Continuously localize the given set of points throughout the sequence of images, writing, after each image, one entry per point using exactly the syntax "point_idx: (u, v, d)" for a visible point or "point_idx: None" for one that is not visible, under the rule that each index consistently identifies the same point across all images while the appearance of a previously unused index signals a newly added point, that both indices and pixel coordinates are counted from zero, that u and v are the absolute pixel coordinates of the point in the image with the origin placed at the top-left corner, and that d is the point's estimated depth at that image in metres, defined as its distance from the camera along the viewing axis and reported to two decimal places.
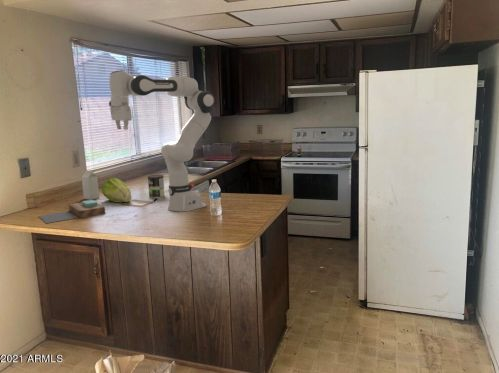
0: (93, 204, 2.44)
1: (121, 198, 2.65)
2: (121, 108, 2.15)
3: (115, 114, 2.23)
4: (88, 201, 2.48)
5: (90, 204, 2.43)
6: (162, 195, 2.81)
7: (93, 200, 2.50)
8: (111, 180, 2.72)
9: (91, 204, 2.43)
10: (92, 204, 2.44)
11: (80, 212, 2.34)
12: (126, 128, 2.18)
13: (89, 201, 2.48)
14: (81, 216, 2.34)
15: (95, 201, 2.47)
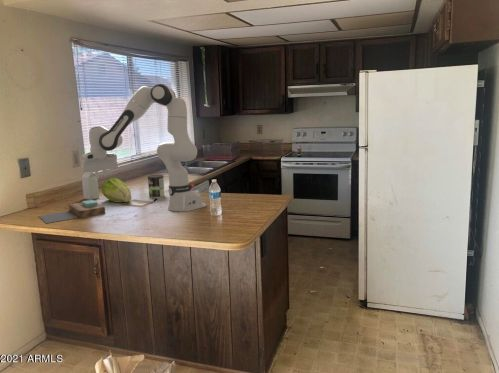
0: (93, 204, 2.44)
1: (121, 198, 2.65)
2: (110, 158, 2.49)
3: (93, 165, 2.44)
4: (88, 201, 2.48)
5: (90, 204, 2.43)
6: (162, 195, 2.81)
7: (93, 200, 2.50)
8: (111, 180, 2.72)
9: (91, 204, 2.43)
10: (92, 204, 2.44)
11: (80, 212, 2.34)
12: None
13: (89, 201, 2.48)
14: (81, 216, 2.34)
15: (95, 201, 2.47)
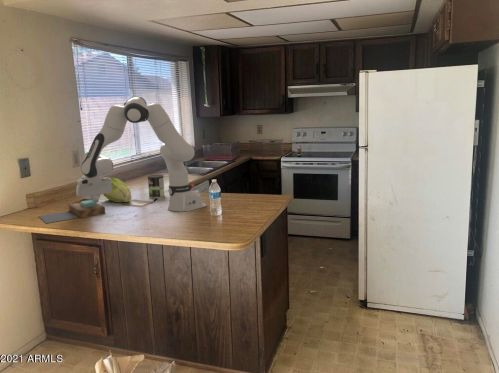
0: (91, 204, 2.43)
1: (121, 198, 2.65)
2: (105, 183, 2.49)
3: (88, 190, 2.44)
4: (86, 201, 2.47)
5: (88, 204, 2.42)
6: (162, 195, 2.81)
7: (91, 200, 2.49)
8: None
9: (89, 204, 2.43)
10: (90, 204, 2.43)
11: (80, 212, 2.34)
12: None
13: (87, 201, 2.47)
14: (81, 216, 2.34)
15: (93, 201, 2.47)
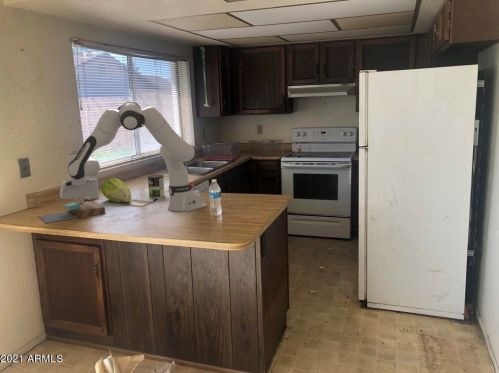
0: (76, 207, 2.38)
1: (121, 198, 2.65)
2: (90, 185, 2.44)
3: (72, 192, 2.39)
4: (71, 204, 2.42)
5: (72, 207, 2.37)
6: (162, 195, 2.81)
7: None
8: (111, 180, 2.72)
9: (74, 207, 2.38)
10: (75, 207, 2.38)
11: (80, 212, 2.34)
12: None
13: (72, 204, 2.42)
14: (81, 216, 2.34)
15: (78, 204, 2.42)
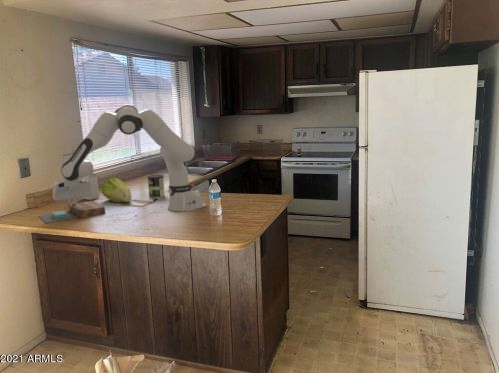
0: (60, 216, 2.34)
1: (121, 198, 2.65)
2: (83, 186, 2.42)
3: (65, 194, 2.36)
4: None
5: (63, 216, 2.35)
6: (162, 195, 2.81)
7: (53, 216, 2.38)
8: (111, 180, 2.72)
9: (62, 216, 2.34)
10: (61, 216, 2.34)
11: (80, 212, 2.34)
12: None
13: None
14: (81, 216, 2.34)
15: (54, 217, 2.35)
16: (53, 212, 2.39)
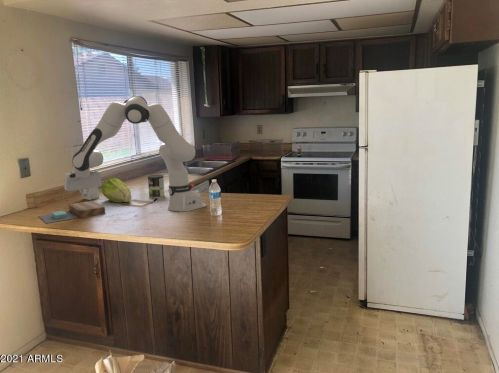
0: (60, 216, 2.34)
1: (121, 198, 2.65)
2: (94, 177, 2.45)
3: (76, 184, 2.40)
4: None
5: (63, 216, 2.35)
6: (162, 195, 2.81)
7: (53, 216, 2.38)
8: (111, 180, 2.72)
9: (62, 216, 2.34)
10: (61, 216, 2.34)
11: (80, 212, 2.34)
12: None
13: None
14: (81, 216, 2.34)
15: (54, 217, 2.35)
16: (53, 212, 2.39)
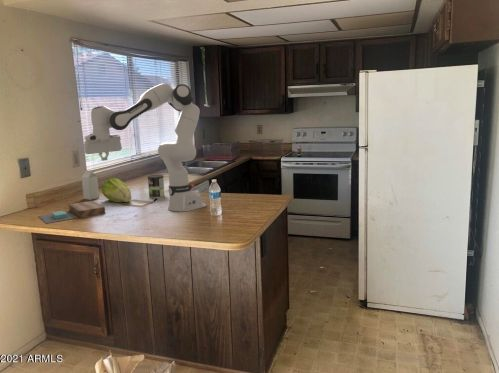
0: (60, 216, 2.34)
1: (121, 198, 2.65)
2: (114, 140, 2.39)
3: (96, 147, 2.33)
4: None
5: (63, 216, 2.35)
6: (162, 195, 2.81)
7: (53, 216, 2.38)
8: (111, 180, 2.72)
9: (62, 216, 2.34)
10: (61, 216, 2.34)
11: (80, 212, 2.34)
12: None
13: None
14: (81, 216, 2.34)
15: (54, 217, 2.35)
16: (53, 212, 2.39)
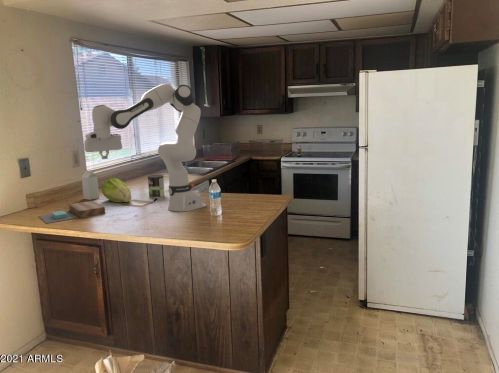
0: (60, 216, 2.34)
1: (121, 198, 2.65)
2: (114, 139, 2.39)
3: (96, 145, 2.33)
4: None
5: (63, 216, 2.35)
6: (162, 195, 2.81)
7: (53, 216, 2.38)
8: (111, 180, 2.72)
9: (62, 216, 2.34)
10: (61, 216, 2.34)
11: (80, 212, 2.34)
12: None
13: None
14: (81, 216, 2.34)
15: (54, 217, 2.35)
16: (53, 212, 2.39)
